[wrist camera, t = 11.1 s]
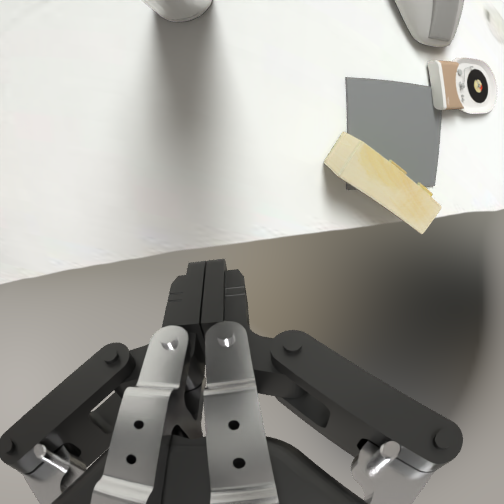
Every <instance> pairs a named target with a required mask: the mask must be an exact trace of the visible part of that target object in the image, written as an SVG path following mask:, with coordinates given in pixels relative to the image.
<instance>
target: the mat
mask: <svg viewBox="0 0 504 504" xmlns="http://www.w3.org/2000/svg"><path fill="white" fill-rule="evenodd" d="M345 78H346V100H347V133H348V134H350V135H352V136H354V137H355V138H357V139H359V140H361V141H363V142H364V143H366V144H367V145H368V146H370V147H371V148H372V149H374V150H375V151H376V152H378V153H379V154H380V155H382V156H383V157H384V158H385V159H387V160H388V161H389V160H392V161H393V162H394V163H396V164H397V165H398V166H400V167H401V168H402V169H403V170H405V171H406V172H407V174H406V175H407V176H408V177H409V178H410V179H411V180H413V181H414V182H415V183H416V184H417V183H418V182H420V183H421V184H422V185H423V186H435V180H436V172H437V164H438V155H439V144H440V130H441V110H438V109H436V108H435V107H434V105H433V97H432V89H431V87H429V86H423V85H417V84H411V83H403V82H396V81H387V80H377V79H366V78H350V77H345ZM346 189H347V190H352V189H356V188H355V187H353V186H352V185H350V184H349V183H347V186H346Z"/></svg>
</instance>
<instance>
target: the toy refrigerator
mask: <svg viewBox="0 0 504 504" xmlns="http://www.w3.org/2000/svg"><path fill="white" fill-rule="evenodd" d="M324 164H325V165H326V166H327V167H329V168H330V169H331V170H332V171H333V172H334V173H335V174H336V175H337V176H338V177H339V178H341V179H342V180H344V181H345V182H347V183H349V184H350V185H352V186H353V187H355V188H356V189H358V190H359V191H361V192H362V193H364V194H365V195H367V196H368V197H370V198H371V199H373V200H374V201H376V202H377V203H379V204H380V205H382V206H383V207H384V208H386V209H387V210H389V211H390V212H392V213H393V214H394V215H396V216H397V217H399V218H400V219H401V220H403V221H404V222H405V223H407V224H408V225H410V226H411V227H412V228H414V229H415V230H416V231H418V232H419V233H421V234H423V233H424V232H425V230H426V229H427V228H428V226H429V225H430V224H431V222H432V221H433V219H434V218H435V217H436V215H437V214H438V212H439V211H440V210H441V205H439V204H438V203H437V202H436V201H435V200H434V199H433V198H432V197H431V196H432V195H433V194H432V193H431V192H430V191H429V190H428V189H427V188H425V187H424V186H423V185H422V184H421V183H420V182H418V183H417V184H416V183H415V182H414V181H413V180H411V179H410V178H409V177H408V176H407V175H406V174H407V172H406V171H405V170H403V169H402V168H401V167H400V166H398V165H397V164H396V163H394V162H393V161H392V160H389V161H388V160H387V159H385V158H384V157H383V156H382V155H380V154H379V153H378V152H376V151H375V150H374V149H372V148H371V147H370V146H368V145H367V144H366V143H364V142H363V141H361V140H359V139H357V138H355V137H354V136H352V135H350V134H348V133H346V132H343V133H342V134H341V136H340V137H339V139H338V140H337V142H336V143H335V145H334V147H333V148H332V150H331V151H330V153H329V154H328V156H327V157H326V159H325V161H324Z"/></svg>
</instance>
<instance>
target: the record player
mask: <svg viewBox="0 0 504 504" xmlns="http://www.w3.org/2000/svg"><path fill="white" fill-rule="evenodd" d="M428 69H429V75H430V82H431V89H432V97H433V105H434V107H435V108H436V109H438V110H451V109H459V110H461V111H463V112H466V113H470V114H480V113H488V112H490V111H491V110H492V109H493V107H494V105H495V103H496V99H497V84H496V80H495V77H494V74H493V72H492V70H491V69H490V67H489V66H488V65H487V64H486V63H485V62H484V61H482V60H478V59H472V58H455V59H454V60H452V62H451V61H437V60H430V61H428Z"/></svg>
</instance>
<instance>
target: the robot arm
mask: <svg viewBox="0 0 504 504" xmlns="http://www.w3.org/2000/svg"><path fill="white" fill-rule="evenodd" d="M142 1H143V2H144V3H145V4H147V5H148V6H149V7H150V8H151V9H153V10H154V11H155V12H156V13H157V14H159V15H160V16H161V17H162V18H164V19H166V20H169V21H172V22H185V21H189V20H192V19H195V18H197V17H199V16H200V15H202V14H203V13H204V12H205V11H206V10H207V9H208V8H209V6H210V5H211V2H212V0H142ZM205 365H206V377H207V388H205V386H206V378H205V376H204V374H205ZM113 390H115V393H114V394H112V395H111V396H110V397H109V398H108V399H107V400H106V401H105V402H104V403H103V404H101V405H100V406H99V407H98V408H97V409H96V410H95V411H92V412H91V410H92V409H93V408H94V407H96V406H97V405H98V404H99V403H100V402H101V401H102V400H103V399H104V398H105V397H107V396H108V395H109V394H110V393H111V392H112V391H113ZM258 393H260V394H266V395H271V396H275V397H276V398H277V399H278V401H279V402H281V403H282V404H283V405H284V406H286V407H287V408H288V409H290V410H291V411H292V412H293V413H294V414H296V415H297V416H298V417H300V418H301V419H302V420H304V421H305V422H306V423H307V424H309V425H310V426H312V427H313V428H314V429H315V430H317V431H318V432H319V433H321V434H322V435H324V436H325V437H326V438H328V439H329V440H330V441H332V442H333V443H335V444H336V445H338V446H339V447H340V448H342V449H343V450H345V451H346V452H348V453H349V454H351V455H352V456H354V457H355V458H354V459H353V462H352V464H351V473H352V476H353V478H354V479H355V480H356V481H357V482H358V483H359V484H360V485H361V487H362V488H363V490H364V496H365V497H364V500H363V499H361V498H360V497H358V496H357V495H356V494H354V493H352V492H351V491H350V490H349V489H347V488H346V487H344V486H343V485H342V484H341V483H339V482H338V481H337V480H335V479H334V478H333V477H331V476H330V475H329V474H327V473H326V472H325V471H324V470H322V469H321V468H320V467H319V466H317V465H316V464H315V463H314V462H313V461H311V460H310V459H309V458H308V457H307V456H305V455H304V454H303V453H302V452H301V451H299V450H298V449H296V448H295V447H293V446H292V445H290V444H288V443H286V442H284V441H281V440H278V439H275V438H271V437H266V436H265V431H264V425H263V420H262V415H261V409H260V404H259V399H258ZM203 403H204V414H205V429H206V437H203V433H202V428H201V420H202V411H203ZM462 443H463V437H462V433H461V430H460V428H459V427H458V426H457V425H456V424H455V423H454V422H452V421H451V420H449V419H447V418H445V417H443V416H442V415H440V414H438V413H436V412H435V411H433V410H431V409H429V408H428V407H426V406H424V405H422V404H420V403H419V402H417V401H415V400H414V399H412V398H410V397H408V396H407V395H405V394H403V393H402V392H400V391H398V390H397V389H395V388H393V387H391V386H390V385H388V384H386V383H385V382H383V381H382V380H380V379H378V378H377V377H375V376H373V375H372V374H370V373H368V372H367V371H365V370H363V369H362V368H360V367H359V366H357V365H355V364H354V363H352V362H351V361H349V360H347V359H346V358H344V357H342V356H341V355H339V354H338V353H336V352H335V351H333V350H331V349H330V348H328V347H327V346H325V345H324V344H322V343H320V342H319V341H317V340H316V339H314V338H313V337H311V336H310V335H308V334H306V333H304V332H301V331H297V330H289V331H285V332H282V333H280V334H278V335H277V336H276V337H275V338H267V337H262V336H259V335H257V334H255V333H254V332H252V331H251V330H250V327H249V315H248V302H247V296H246V290H245V283H244V276H243V275H242V274H241V273H240V271H239V270H238V269H237V270H228V271H227V268H226V262H225V259H218V260H209V261H201V262H193V263H189V264H188V268H187V274H186V275H184V276H178V277H177V278H176V279H175V281H174V282H173V283H172V285H171V288H170V295H169V297H168V303H167V306H166V311H165V316H164V320H163V325H162V328H161V329H159V330H158V331H157V332H155V333H154V334H153V336H152V338H151V340H150V343H149V344H148V345H146V346H143V347H140V348H136V349H133V350H130V351H129V350H128V348H127V347H126V346H125V345H124V344H122V343H111V344H108V345H106V346H104V347H103V348H101V349H100V350H99V351H98V352H97V353H96V354H94V355H93V356H92V357H91V358H90V359H88V360H87V361H86V362H85V363H84V364H83V365H81V366H80V367H79V368H78V369H77V370H76V371H74V372H73V373H72V374H71V375H70V376H69V377H67V378H66V379H65V380H64V381H63V382H62V383H61V384H59V385H58V386H57V387H56V388H55V389H54V390H52V391H51V392H50V393H49V394H48V395H47V396H46V397H44V398H43V399H42V400H41V401H40V402H39V403H38V404H36V405H35V406H34V407H33V408H32V409H31V410H30V411H28V412H27V413H26V414H25V415H24V416H23V417H22V418H21V419H20V420H19V421H17V422H16V423H15V424H14V425H13V426H12V427H11V428H9V429H8V430H7V431H6V432H5V433H4V434H3V435H2V436H1V438H0V458H1V460H2V461H3V462H4V463H6V464H7V465H9V466H11V467H12V468H14V469H16V470H18V471H19V472H20V473H21V474H23V476H24V478H25V480H26V481H27V483H28V485H29V487H30V488H31V490H32V491H33V493H34V495H35V497H36V498H37V500H38V501H39V503H40V504H412V503H413V501H414V500H415V499H416V497H417V496H418V495H419V493H420V492H421V490H422V489H423V487H424V486H425V484H426V483H427V482H428V480H429V479H430V477H431V475H432V474H433V473H434V472H435V471H436V470H437V469H439V468H440V467H442V466H443V465H445V464H447V463H448V462H450V461H451V460H452V459H454V458H455V457H456V456H457V455H458V453H459V452H460V450H461V447H462ZM104 451H105V452H104ZM103 452H104V453H103ZM102 453H103V454H102ZM101 454H102V455H101ZM100 455H101V456H100ZM99 456H100V457H99ZM98 457H99V458H98ZM97 458H98V459H97ZM96 459H97V460H96ZM95 460H96V461H95ZM93 461H95V462H94V463H93V464H92V465H91V466H90V467H89V468H88V469H86V468H87V467H88V466H89V465H90V464H91V463H92V462H93Z"/></svg>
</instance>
